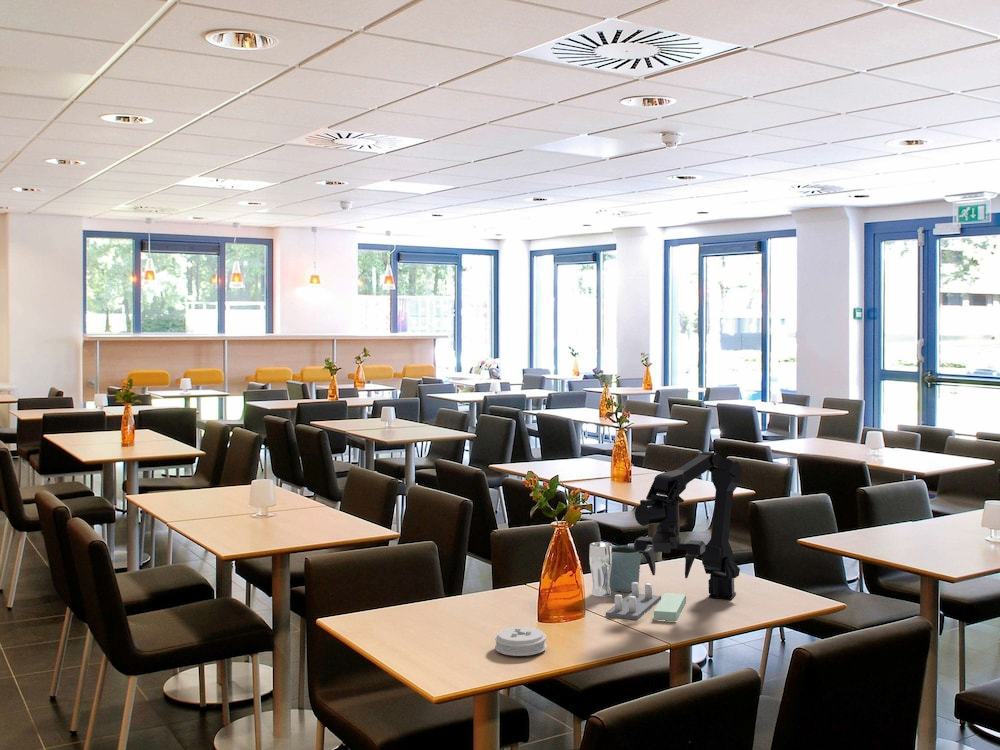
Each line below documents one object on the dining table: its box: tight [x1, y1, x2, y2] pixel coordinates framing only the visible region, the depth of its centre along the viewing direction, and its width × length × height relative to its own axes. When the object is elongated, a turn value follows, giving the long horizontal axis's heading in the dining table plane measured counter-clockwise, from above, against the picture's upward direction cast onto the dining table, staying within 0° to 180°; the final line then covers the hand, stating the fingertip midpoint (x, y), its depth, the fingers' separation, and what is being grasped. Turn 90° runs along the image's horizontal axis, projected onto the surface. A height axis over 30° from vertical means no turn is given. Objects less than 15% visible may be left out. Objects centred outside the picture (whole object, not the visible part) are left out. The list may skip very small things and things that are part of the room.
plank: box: [653, 592, 687, 622], centre depth 255 cm, size 6×18×3 cm, turn 161°
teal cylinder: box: [611, 545, 642, 593], centre depth 279 cm, size 10×10×12 cm
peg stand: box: [605, 582, 662, 621], centre depth 259 cm, size 9×21×5 cm, turn 153°
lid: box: [494, 626, 548, 657], centre depth 227 cm, size 13×13×5 cm
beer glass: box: [588, 541, 613, 598], centre depth 273 cm, size 7×7×15 cm
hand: (670, 576), depth 254 cm, fingers open, 9 cm apart
